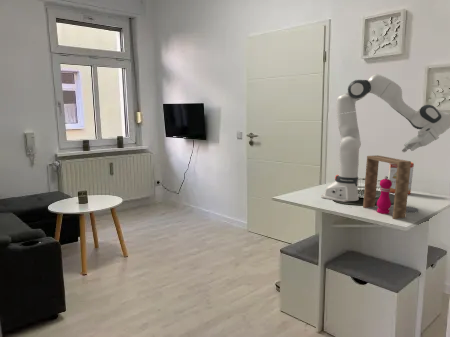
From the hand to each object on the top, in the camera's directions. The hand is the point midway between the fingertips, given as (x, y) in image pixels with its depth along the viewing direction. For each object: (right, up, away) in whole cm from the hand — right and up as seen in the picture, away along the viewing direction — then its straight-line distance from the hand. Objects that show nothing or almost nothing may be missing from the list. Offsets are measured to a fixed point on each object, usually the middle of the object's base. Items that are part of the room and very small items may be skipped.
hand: (407, 150), depth 203 cm
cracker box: (+17, -26, +45) cm, 55 cm away
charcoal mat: (+2, -33, +4) cm, 33 cm away
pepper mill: (-14, -34, -2) cm, 37 cm away
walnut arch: (-14, -34, -2) cm, 36 cm away
